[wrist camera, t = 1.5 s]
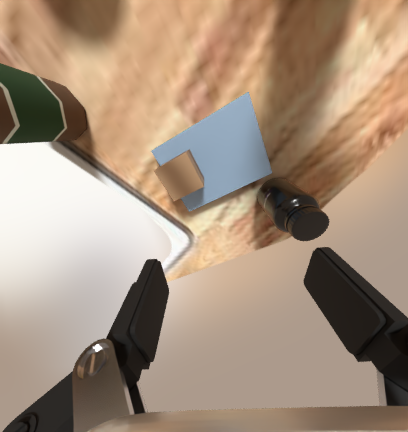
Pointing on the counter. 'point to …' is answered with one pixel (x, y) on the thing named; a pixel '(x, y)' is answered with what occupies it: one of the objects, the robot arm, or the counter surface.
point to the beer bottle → (37, 109)
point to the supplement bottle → (292, 209)
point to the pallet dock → (221, 151)
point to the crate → (180, 175)
